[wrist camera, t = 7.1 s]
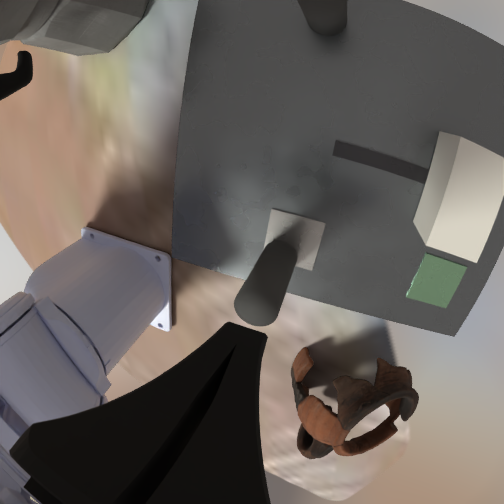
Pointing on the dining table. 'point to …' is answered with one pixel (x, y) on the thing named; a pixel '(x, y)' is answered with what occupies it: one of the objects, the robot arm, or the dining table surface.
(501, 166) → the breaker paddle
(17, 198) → the dining table surface
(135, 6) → the coffeepot
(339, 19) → the black cylinder
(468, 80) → the panel
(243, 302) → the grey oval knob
